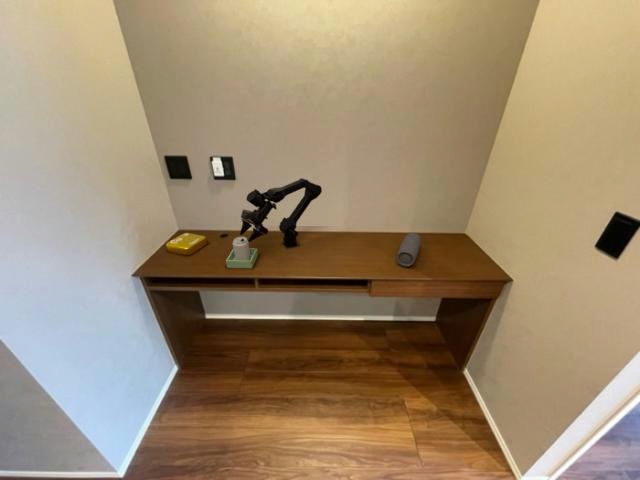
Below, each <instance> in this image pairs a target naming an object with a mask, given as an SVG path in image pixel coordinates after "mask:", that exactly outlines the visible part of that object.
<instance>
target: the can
mask: <svg viewBox="0 0 640 480" xmlns="http://www.w3.org/2000/svg"><path fill="white" fill-rule="evenodd" d="M250 248H251V247H250V242H248V237H245V236H237V237H235V238H234V239H233V242H232V250H233V249H234V255H235V260H241V261H249V260H250V259H251V256H250Z"/></svg>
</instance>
